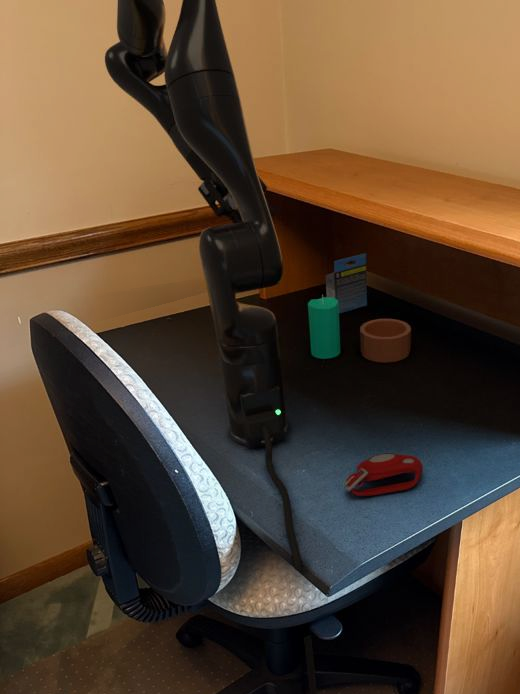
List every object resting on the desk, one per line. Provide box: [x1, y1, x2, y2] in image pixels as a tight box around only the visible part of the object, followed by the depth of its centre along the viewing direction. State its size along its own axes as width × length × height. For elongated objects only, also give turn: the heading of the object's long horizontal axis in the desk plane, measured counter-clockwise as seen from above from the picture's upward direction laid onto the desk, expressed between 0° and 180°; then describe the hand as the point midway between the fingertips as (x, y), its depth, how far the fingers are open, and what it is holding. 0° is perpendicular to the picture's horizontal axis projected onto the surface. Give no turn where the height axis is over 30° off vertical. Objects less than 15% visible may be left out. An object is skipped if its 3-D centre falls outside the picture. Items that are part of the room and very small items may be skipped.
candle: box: [307, 294, 341, 360], centre depth 132 cm, size 6×6×12 cm
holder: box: [359, 318, 412, 363], centre depth 133 cm, size 10×10×5 cm
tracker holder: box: [343, 452, 424, 497], centre depth 97 cm, size 12×4×10 cm
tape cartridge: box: [325, 252, 368, 315], centre depth 151 cm, size 9×4×12 cm, turn 126°
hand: (259, 223), depth 123 cm, fingers open, 8 cm apart
